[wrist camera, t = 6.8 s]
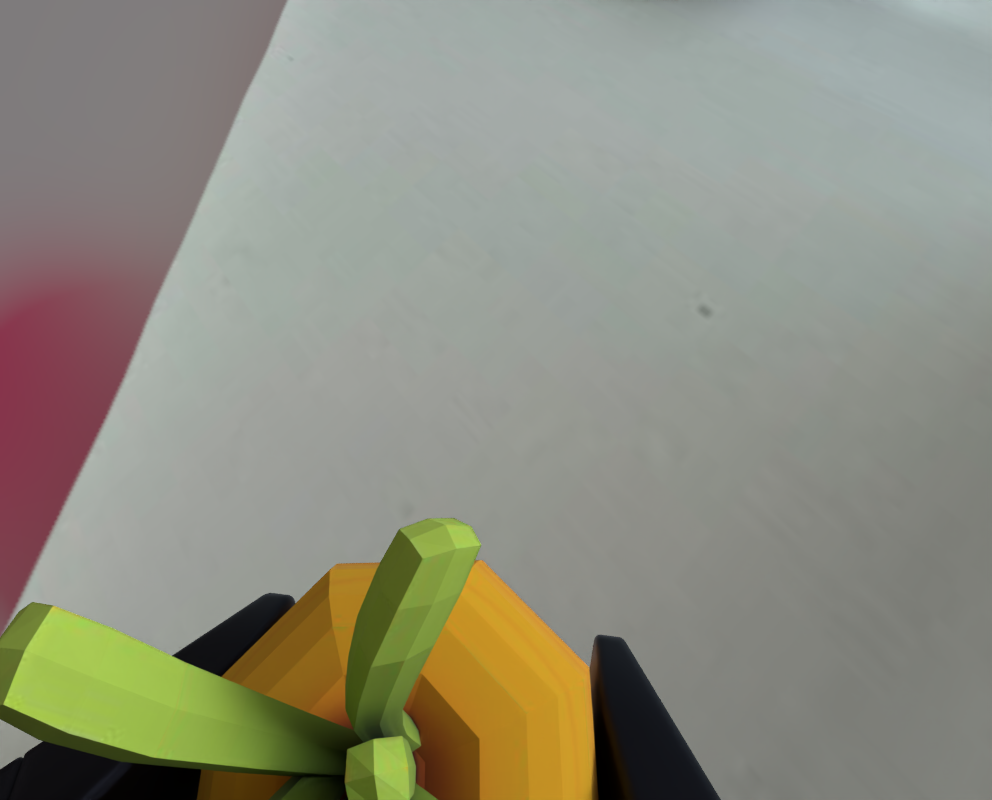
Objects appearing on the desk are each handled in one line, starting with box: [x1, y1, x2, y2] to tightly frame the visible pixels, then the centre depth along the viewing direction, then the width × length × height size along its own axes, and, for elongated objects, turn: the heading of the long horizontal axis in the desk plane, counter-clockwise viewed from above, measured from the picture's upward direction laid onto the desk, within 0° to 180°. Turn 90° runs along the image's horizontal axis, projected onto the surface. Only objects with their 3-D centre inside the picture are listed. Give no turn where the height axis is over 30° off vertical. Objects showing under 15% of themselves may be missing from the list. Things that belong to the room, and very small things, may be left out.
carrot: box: [0, 518, 599, 800], centre depth 9 cm, size 5×5×15 cm
